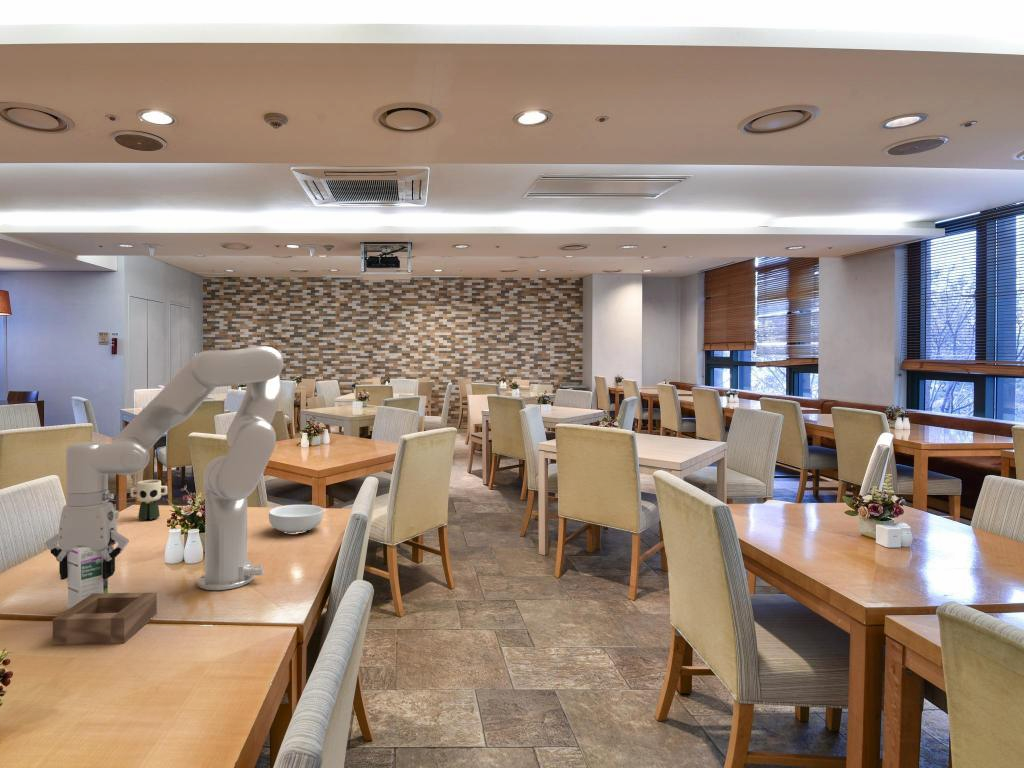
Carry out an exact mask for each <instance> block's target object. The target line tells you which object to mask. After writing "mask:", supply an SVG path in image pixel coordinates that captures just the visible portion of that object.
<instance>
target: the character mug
mask: <svg viewBox="0 0 1024 768" xmlns="http://www.w3.org/2000/svg"><path fill="white" fill-rule="evenodd" d="M162 490H163V491H164V492H162ZM129 491H130V498H137V501H138V502H141V503H140V504H139V509H138V520H140V521H146V520H147V519H149V520H154V519H157V518H159V517H160V516H161V515H160V508H159V503H158V500H160V499H161V497H162V496H166V495H168V485H162V481H161V480H160V479H146V480H140V481H137V482H136V487H131V488H130V490H129ZM134 491H136V494H135V492H134Z"/></svg>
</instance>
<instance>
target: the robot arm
mask: <svg viewBox="0 0 1024 768" xmlns="http://www.w3.org/2000/svg"><path fill="white" fill-rule="evenodd" d="M284 364H285V363H284V358H283V355H282V354H281V353H280V351H278V350H277V349H276V348H274V347H271V346H266V345H261V346H260V345H257V346H255V345H253V346H248V347H246V348H245V347H244V348H238V349H237V348H236V349H228V350H227V349H226V350H204V351H201V352H198V353H197V354H195V355H193V357H192V358H190V359H189V360H188V362H186V364H184V366H183V367H182V368H181V369H180V370H179V371H178V373H176V375H174V377H173V378H171V380H170V381H168V383H167V384H166V385H165V386H164V388H162V389H161V390H160V392H159V393H157V394H156V396H155V397H153V399H151V401H150V402H149V403H148V404H147V405H145V407H144V408H142V410H141V411H139V413H138V414H137V415H135V417H134V418H132V420H130V422H129V423H128V424H127V425H126V426H125V427H124V428H123V429H122V430H121V431H120V432H119V434H118V435H117V436H116V437H115V438H114V439H113V440H112V442H110V443H108V444H106V443H104V442H101V441H82V442H75V443H72V444H70V445H68V447H67V448H66V451H65V461H66V462H65V465H66V466H65V468H66V469H65V478H66V480H65V483H66V484H65V485H66V486H65V491H66V493H65V494H66V495H65V496H66V497H65V500H66V501H65V505H64V506H63V507H62V510H61V514H60V519H59V525H58V526H59V527H58V533H57V534H55V535H54V536H52V537H51V538H49V539H47V540H46V541H45V542H44V544H45V546H46V547H47V549H48V550H49V551H50V554H51V555H53V556H54V557H55V558H56V562H58V563H59V565H58V566H59V569H58V570H59V571H58V572H59V575H60V577H59V578H60V580H66V579H68V577H67V554H68V552H69V551H72V550H73V548H74V547H90V549H91V550H92V551H100V553H101V554H102V555H103V557H104V558H105V561H103V563H102V578H103V579H107V578H108V579H109V578H110V577H112V576H114V574H115V571H116V558H117V557H118V555H120V554H121V553H122V552H123V551H124V549H125V548H126V546H127V545H128V544H129V542H130V540H129V539H128V538H126V536H124V535H123V534H121V533H119V532H118V527H117V518H116V517H115V511H114V510H115V508H114V505H113V502H111V501H110V500H114V497H115V494H114V493H110V489H109V475H120V476H121V475H122V476H124V475H125V476H126V475H135V474H138V473H141V472H142V471H143V470H145V469H146V467H147V466H148V465H149V463H150V459H151V457H150V452H149V451H150V450H151V449H152V447H153V446H154V445H155V444H156V443H157V442H158V441H159V440H160V439H161V438H162V437H163V436H164V435H165V434H166V433H167V432H169V431H170V430H172V428H174V427H176V426H178V425H180V424H182V423H184V422H185V421H186V420H188V419H189V418H190V417H191V416H192V415H194V414H193V413H194V412H196V411H197V409H198V408H199V407H200V406H201V404H202V403H203V402H204V401H205V400H206V398H208V397H209V395H210V394H211V393H212V392H213V391H215V389H216V388H219V387H231V386H240V385H244V384H245V385H246V389H245V394H244V396H243V398H242V401H241V403H240V405H239V408H238V410H237V412H236V413H235V416H234V418H233V419H232V421H231V423H230V425H229V427H228V430H226V442H227V444H228V446H229V449H228V451H227V454H226V455H219V456H217V457H215V458H213V459H212V460H211V461H210V462H209V463H208V464H207V465H206V467H205V470H204V473H203V481H202V482H203V491H204V505H205V506H204V507H205V508H204V512H205V513H204V514H205V515H204V517H205V522H204V523H205V525H204V531H205V533H204V574H203V575H201V576H200V577H199V578H198V579H197V586H198V588H200V589H202V590H208V591H225V590H231V589H237V588H239V587H242V586H245V585H247V584H249V583H250V582H252V581H253V580H254V576H263V575H264V574H265V568H264V567H263V566H262V565H261V564H260V565H259V564H258V565H256V564H255V565H253V564H251V563H252V561H251V559H248V497H249V496H250V495H251V494H253V492H254V491H255V489H256V488H257V486H258V484H259V482H260V481H261V478H262V477H263V474H264V472H265V470H266V468H267V466H268V463H269V461H270V459H271V457H272V454H273V452H274V451H275V447H276V442H277V434H276V431H275V429H274V427H273V425H272V423H273V420H274V417H275V415H276V413H277V410H278V408H279V405H280V402H281V400H282V392H283V386H282V381H281V377H280V375H281V373H282V371H283V368H284ZM116 544H117V546H116V548H115V547H114V545H116ZM112 545H113V546H112ZM113 547H114V548H113ZM107 549H108V550H107Z"/></svg>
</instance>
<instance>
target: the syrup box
mask: <svg viewBox="0 0 1024 768" xmlns="http://www.w3.org/2000/svg"><path fill="white" fill-rule="evenodd" d="M107 550H108V549H107ZM103 561H105V558H104V557H103V555H102V554H101V553H100V551H92V550H91V549H90V547H74V548H73V550H72V551H69V552H68V554H67V577H68V578H66V579H67V580H66V581H67V610H68V609H70V608H71V607H73V606H74V605H76V604H77V603H79V602H80V601H82V600H83V599H85V598H86V597H88V596H90V595H91V594H93V593H109V590H108V589H109V586H108V585H109V583H108V582H109V578H107V579H103V578H102V563H103Z"/></svg>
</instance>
